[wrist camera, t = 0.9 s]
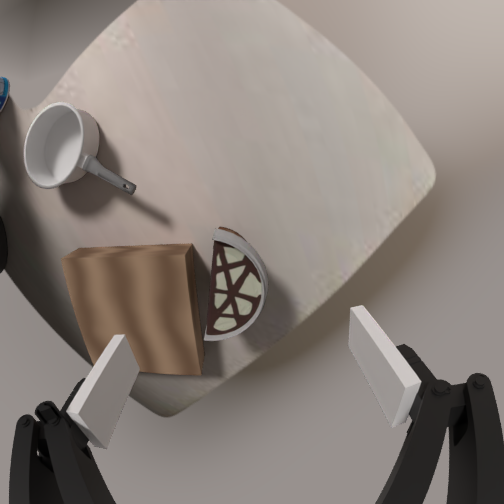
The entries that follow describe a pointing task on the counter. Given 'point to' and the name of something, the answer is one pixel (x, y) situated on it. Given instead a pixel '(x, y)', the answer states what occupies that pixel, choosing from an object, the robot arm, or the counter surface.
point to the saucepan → (65, 148)
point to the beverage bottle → (3, 91)
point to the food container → (234, 286)
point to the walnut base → (139, 303)
